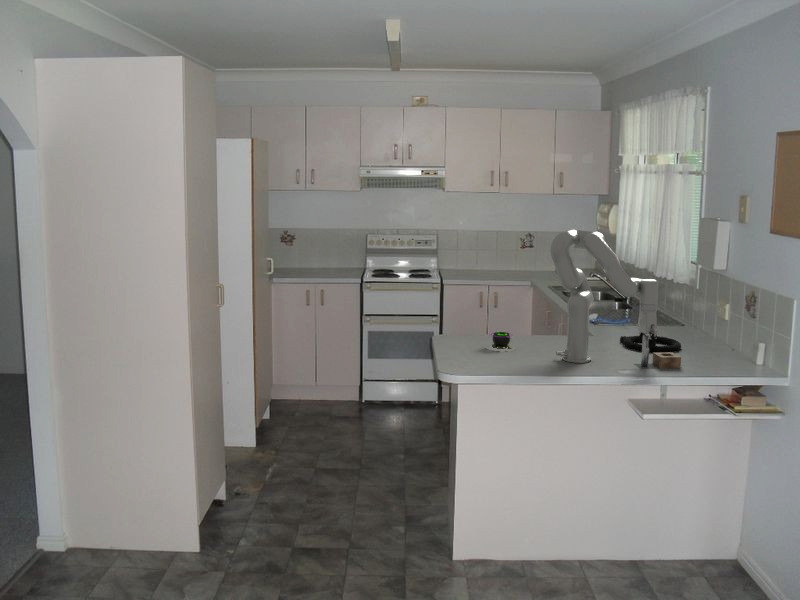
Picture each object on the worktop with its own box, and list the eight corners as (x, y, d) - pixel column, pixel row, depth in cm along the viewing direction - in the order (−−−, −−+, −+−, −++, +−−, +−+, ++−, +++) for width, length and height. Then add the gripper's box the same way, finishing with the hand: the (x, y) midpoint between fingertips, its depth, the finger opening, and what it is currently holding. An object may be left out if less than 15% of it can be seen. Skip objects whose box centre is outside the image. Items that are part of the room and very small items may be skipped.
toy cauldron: (522, 350, 380) (523, 328, 378) (496, 353, 373) (497, 330, 371) (504, 344, 393) (505, 322, 391) (479, 347, 386) (480, 325, 384)
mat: (640, 369, 343) (640, 368, 343) (632, 364, 352) (633, 363, 352) (682, 369, 345) (682, 368, 345) (673, 364, 354) (673, 363, 354)
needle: (642, 367, 346) (644, 336, 344) (639, 365, 349) (641, 334, 347) (649, 366, 347) (651, 335, 344) (646, 365, 350) (648, 334, 347)
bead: (660, 368, 344) (661, 357, 343) (652, 363, 353) (653, 352, 352) (680, 368, 345) (681, 357, 344) (671, 363, 354) (672, 352, 353)
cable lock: (669, 349, 369) (609, 340, 388) (668, 357, 369) (608, 347, 388) (689, 339, 390) (632, 331, 409) (689, 347, 390) (631, 338, 409)
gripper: (632, 304, 352) (631, 342, 354) (648, 311, 335) (647, 350, 337) (648, 304, 353) (647, 341, 355) (665, 310, 335) (663, 349, 338)
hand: (647, 345), depth 346 cm, fingers open, 9 cm apart
